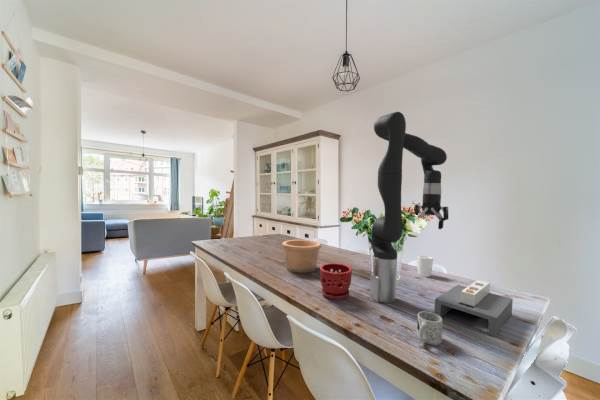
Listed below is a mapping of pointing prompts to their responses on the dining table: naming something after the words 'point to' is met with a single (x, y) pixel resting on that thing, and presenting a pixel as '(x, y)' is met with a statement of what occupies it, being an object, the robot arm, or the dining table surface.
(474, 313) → the keyhole board
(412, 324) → the dining table surface
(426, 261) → the white cup
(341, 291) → the plant pot
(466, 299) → the power strip
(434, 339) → the mug
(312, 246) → the pottery
